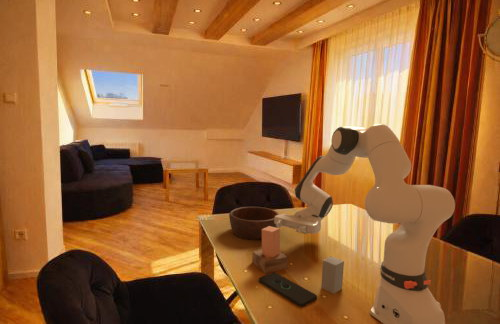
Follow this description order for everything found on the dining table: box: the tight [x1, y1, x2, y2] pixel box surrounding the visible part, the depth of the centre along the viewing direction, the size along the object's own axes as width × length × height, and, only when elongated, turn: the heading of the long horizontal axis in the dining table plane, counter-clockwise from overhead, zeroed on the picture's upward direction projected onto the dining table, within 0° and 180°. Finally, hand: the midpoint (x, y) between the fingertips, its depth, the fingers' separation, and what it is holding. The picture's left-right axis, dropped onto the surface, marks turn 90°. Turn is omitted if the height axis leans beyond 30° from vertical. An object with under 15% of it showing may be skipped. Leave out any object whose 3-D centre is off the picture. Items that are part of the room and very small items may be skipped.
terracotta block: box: [261, 226, 281, 258], centre depth 123 cm, size 5×5×10 cm
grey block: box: [320, 256, 345, 294], centre depth 108 cm, size 5×5×10 cm
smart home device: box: [258, 271, 318, 308], centre depth 107 cm, size 8×2×20 cm
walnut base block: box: [251, 249, 289, 274], centre depth 125 cm, size 10×10×5 cm
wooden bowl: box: [228, 206, 280, 241], centre depth 159 cm, size 25×25×10 cm
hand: (287, 227), depth 133 cm, fingers open, 8 cm apart
